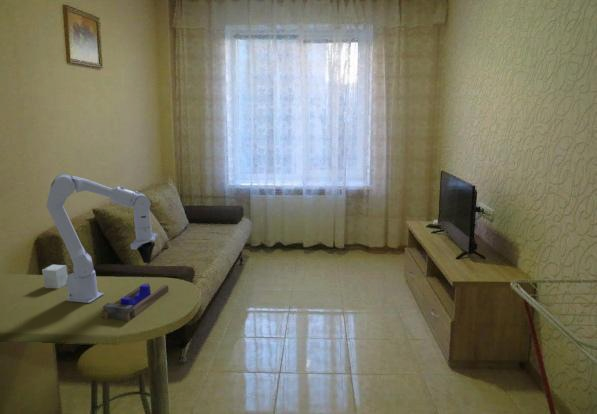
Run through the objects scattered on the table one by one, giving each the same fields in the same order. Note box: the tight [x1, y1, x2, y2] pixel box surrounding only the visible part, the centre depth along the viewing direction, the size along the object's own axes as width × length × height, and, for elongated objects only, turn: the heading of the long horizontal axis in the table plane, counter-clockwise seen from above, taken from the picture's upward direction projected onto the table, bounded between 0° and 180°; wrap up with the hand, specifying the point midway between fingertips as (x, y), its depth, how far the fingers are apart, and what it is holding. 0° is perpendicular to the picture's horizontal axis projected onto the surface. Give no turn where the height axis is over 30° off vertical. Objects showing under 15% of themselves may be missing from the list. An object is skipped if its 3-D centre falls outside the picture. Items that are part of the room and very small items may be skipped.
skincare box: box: [41, 264, 69, 290], centre depth 176 cm, size 6×6×7 cm
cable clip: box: [120, 284, 152, 306], centre depth 155 cm, size 12×4×6 cm, turn 165°
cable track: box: [101, 282, 169, 322], centre depth 158 cm, size 9×24×4 cm, turn 165°
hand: (146, 262), depth 172 cm, fingers closed
